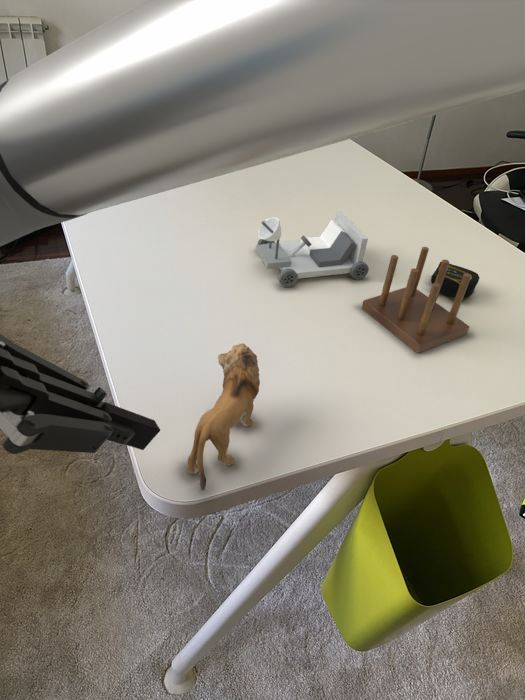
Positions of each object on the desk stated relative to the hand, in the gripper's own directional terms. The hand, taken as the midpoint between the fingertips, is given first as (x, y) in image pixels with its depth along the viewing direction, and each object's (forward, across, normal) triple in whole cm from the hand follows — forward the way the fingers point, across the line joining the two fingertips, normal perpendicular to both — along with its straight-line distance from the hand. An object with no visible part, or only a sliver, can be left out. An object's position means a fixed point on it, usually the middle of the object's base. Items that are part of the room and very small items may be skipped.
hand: (148, 435), depth 54 cm
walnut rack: (+35, -7, +28) cm, 45 cm away
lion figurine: (+9, 0, +3) cm, 10 cm away
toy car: (+31, -27, +24) cm, 47 cm away
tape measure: (+43, -11, +37) cm, 58 cm away
